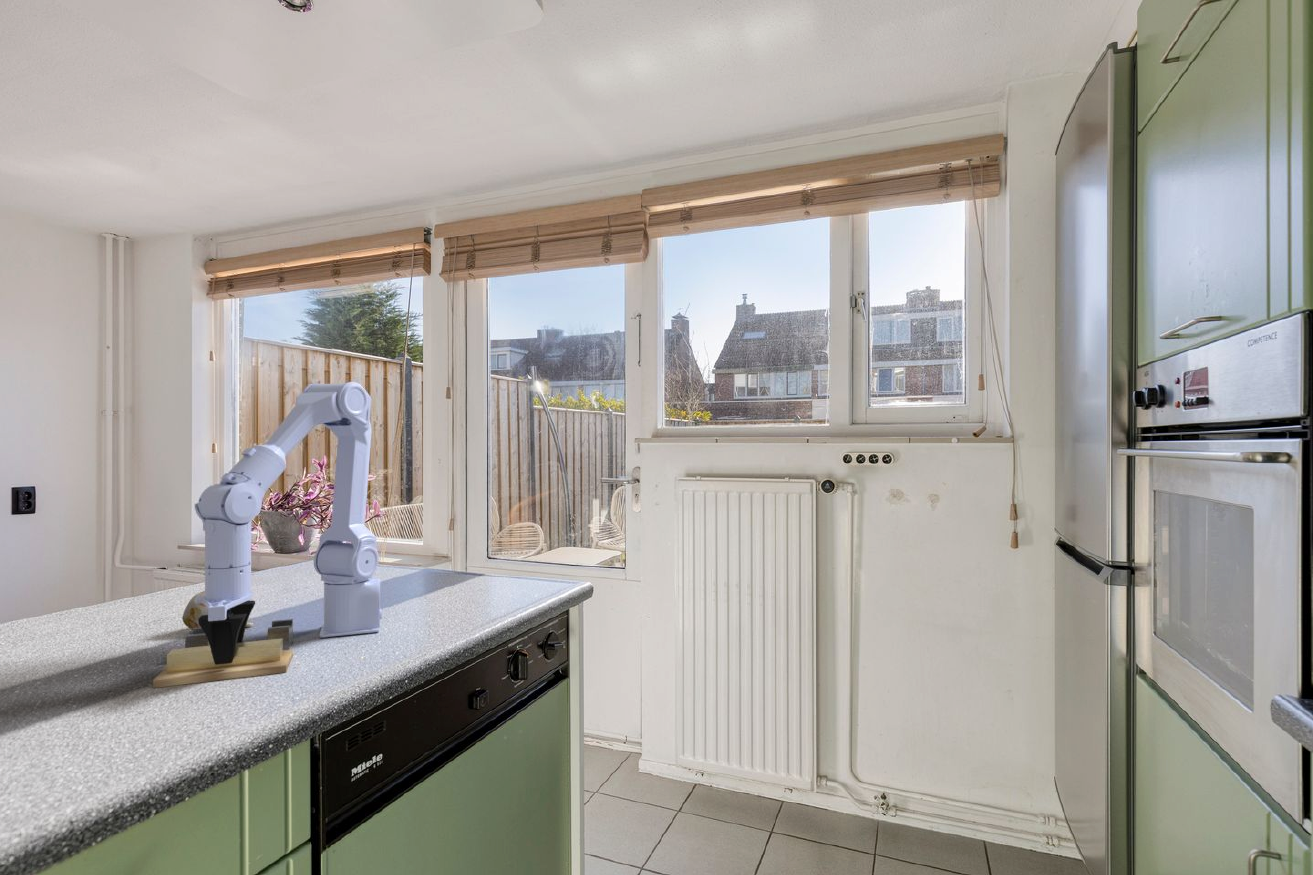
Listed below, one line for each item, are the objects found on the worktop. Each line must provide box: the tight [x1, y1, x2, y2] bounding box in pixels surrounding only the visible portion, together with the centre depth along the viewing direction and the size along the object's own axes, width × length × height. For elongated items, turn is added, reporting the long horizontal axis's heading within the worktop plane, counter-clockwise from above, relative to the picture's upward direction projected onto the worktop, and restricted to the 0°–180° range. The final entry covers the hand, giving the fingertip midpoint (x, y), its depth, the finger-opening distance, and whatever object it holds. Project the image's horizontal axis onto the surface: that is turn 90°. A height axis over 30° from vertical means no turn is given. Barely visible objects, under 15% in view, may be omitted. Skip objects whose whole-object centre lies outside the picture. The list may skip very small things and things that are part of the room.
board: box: [152, 648, 294, 689], centre depth 96 cm, size 16×8×1 cm, turn 113°
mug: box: [181, 590, 254, 631], centre depth 117 cm, size 8×10×10 cm
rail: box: [166, 638, 283, 673], centre depth 96 cm, size 14×3×3 cm, turn 113°
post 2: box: [267, 618, 294, 650], centre depth 108 cm, size 3×5×4 cm, turn 23°
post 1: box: [184, 627, 210, 648], centre depth 104 cm, size 3×5×4 cm, turn 23°
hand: (228, 657), depth 96 cm, fingers open, 5 cm apart
